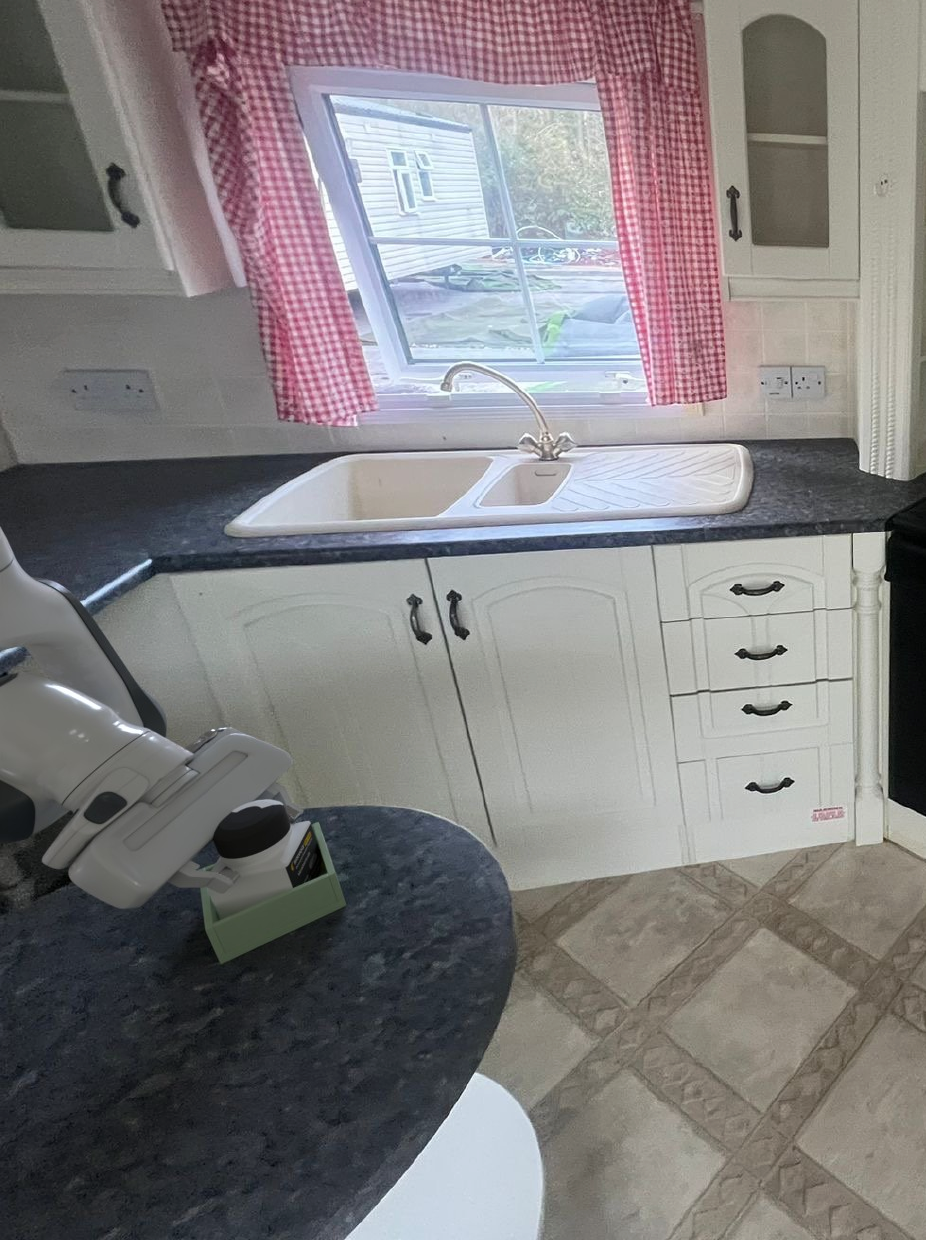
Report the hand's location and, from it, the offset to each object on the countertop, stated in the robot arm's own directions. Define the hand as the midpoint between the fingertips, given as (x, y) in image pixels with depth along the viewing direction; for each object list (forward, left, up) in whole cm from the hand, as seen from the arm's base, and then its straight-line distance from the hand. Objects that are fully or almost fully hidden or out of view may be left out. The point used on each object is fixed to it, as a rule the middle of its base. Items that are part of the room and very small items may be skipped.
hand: (266, 850), depth 86 cm
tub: (-1, 0, -8) cm, 8 cm away
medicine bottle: (-1, 0, -7) cm, 7 cm away
